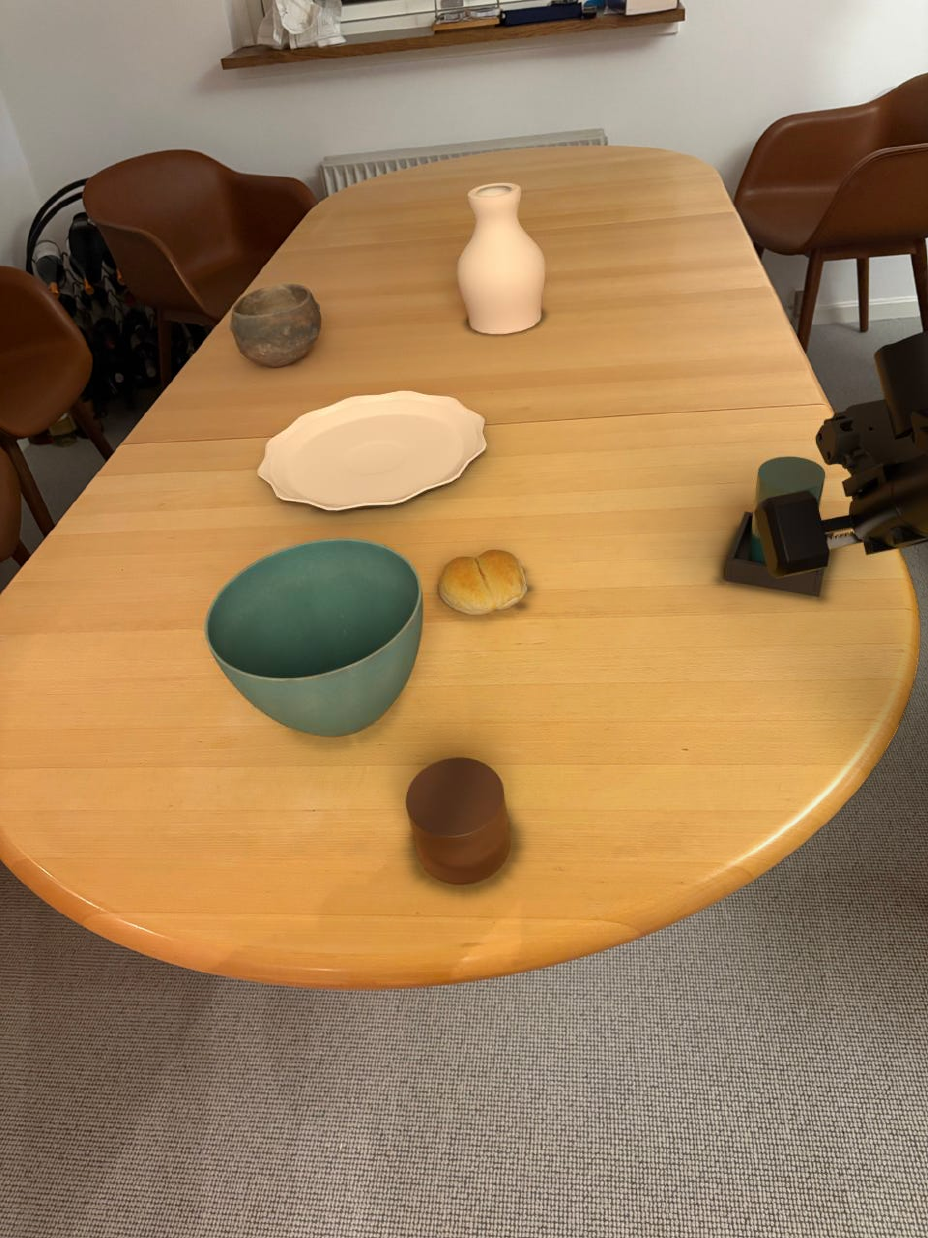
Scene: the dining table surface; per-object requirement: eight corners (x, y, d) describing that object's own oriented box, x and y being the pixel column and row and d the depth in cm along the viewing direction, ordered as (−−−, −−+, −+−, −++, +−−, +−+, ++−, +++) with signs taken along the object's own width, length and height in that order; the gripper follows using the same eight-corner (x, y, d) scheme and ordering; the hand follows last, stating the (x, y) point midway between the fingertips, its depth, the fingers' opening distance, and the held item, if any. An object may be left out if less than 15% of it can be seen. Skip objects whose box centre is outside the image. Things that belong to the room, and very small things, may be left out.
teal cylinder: (817, 574, 86) (833, 487, 80) (754, 578, 87) (765, 492, 81) (802, 538, 91) (816, 453, 84) (743, 542, 92) (752, 458, 85)
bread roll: (435, 578, 94) (430, 547, 91) (517, 562, 94) (514, 531, 92) (446, 626, 88) (441, 595, 85) (534, 609, 88) (531, 577, 86)
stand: (524, 821, 69) (518, 771, 65) (487, 897, 64) (479, 849, 60) (442, 796, 72) (432, 747, 68) (401, 868, 67) (388, 819, 63)
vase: (449, 334, 143) (431, 204, 130) (481, 300, 153) (468, 176, 140) (531, 339, 138) (522, 204, 125) (559, 303, 148) (553, 174, 135)
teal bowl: (459, 752, 75) (439, 646, 67) (247, 804, 73) (201, 701, 65) (422, 621, 89) (402, 520, 81) (243, 662, 87) (205, 563, 79)
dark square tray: (832, 543, 91) (836, 523, 89) (819, 597, 85) (823, 576, 83) (742, 530, 94) (744, 511, 92) (724, 580, 88) (725, 560, 86)
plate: (532, 464, 109) (530, 447, 108) (318, 554, 100) (313, 537, 98) (419, 386, 130) (417, 371, 128) (233, 456, 120) (228, 440, 119)
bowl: (332, 335, 149) (319, 275, 142) (324, 374, 137) (309, 311, 131) (251, 345, 150) (234, 286, 143) (236, 385, 138) (217, 323, 131)
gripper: (1025, 362, 63) (908, 430, 79) (778, 410, 62) (708, 469, 78) (1066, 511, 62) (939, 550, 78) (815, 562, 61) (737, 592, 77)
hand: (831, 537), depth 78 cm, fingers open, 9 cm apart
